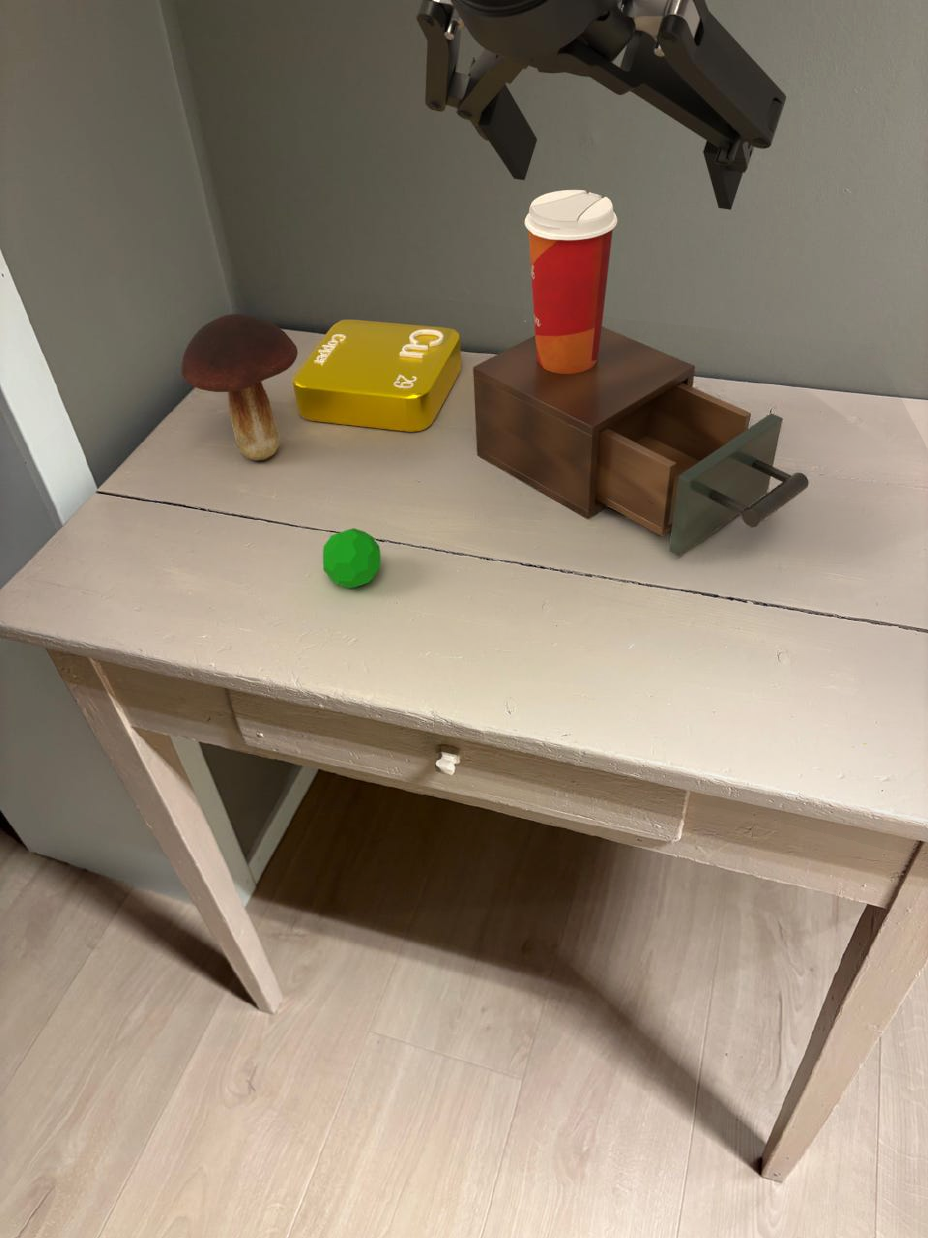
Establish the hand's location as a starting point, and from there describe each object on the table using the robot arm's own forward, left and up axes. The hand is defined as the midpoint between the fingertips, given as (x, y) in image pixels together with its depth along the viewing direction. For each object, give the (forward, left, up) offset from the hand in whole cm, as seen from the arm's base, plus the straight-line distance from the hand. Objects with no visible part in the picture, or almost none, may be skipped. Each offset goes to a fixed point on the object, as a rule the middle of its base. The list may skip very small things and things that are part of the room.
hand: (624, 172), depth 60 cm
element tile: (+22, -30, -33) cm, 50 cm away
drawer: (-8, -8, -32) cm, 34 cm away
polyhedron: (+21, +1, -33) cm, 39 cm away
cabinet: (+1, -17, -33) cm, 37 cm away
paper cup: (+2, -18, -23) cm, 29 cm away
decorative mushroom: (+33, -18, -33) cm, 50 cm away
